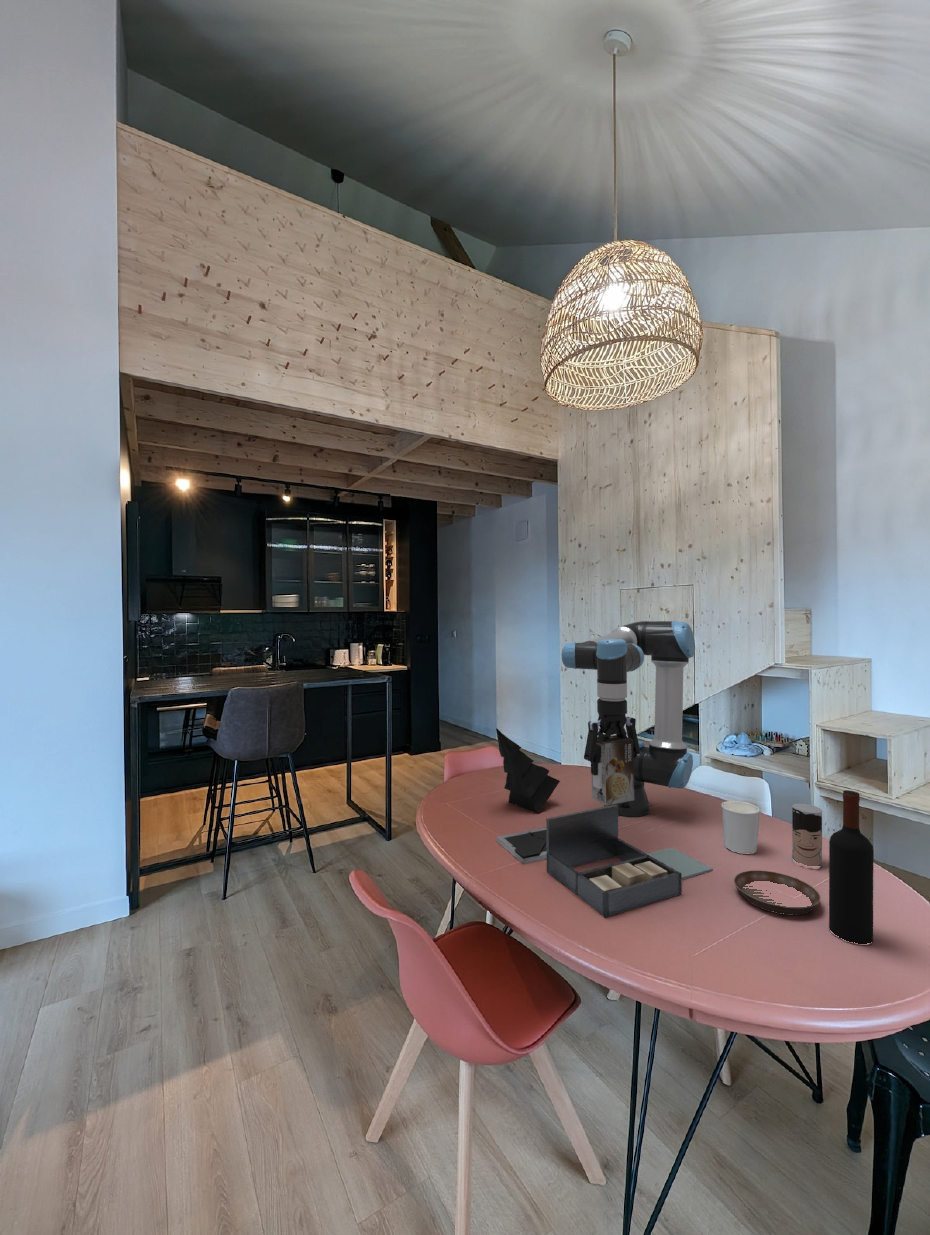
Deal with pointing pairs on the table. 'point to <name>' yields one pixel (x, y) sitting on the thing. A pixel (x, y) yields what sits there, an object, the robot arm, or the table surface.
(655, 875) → the offcut
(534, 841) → the picture frame
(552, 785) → the decorative tree
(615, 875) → the block
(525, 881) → the table surface
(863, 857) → the wine bottle
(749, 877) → the plant saucer
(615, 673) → the robot arm
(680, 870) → the pad
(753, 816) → the candle holder
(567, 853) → the open divided box
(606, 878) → the offcut
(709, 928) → the table surface
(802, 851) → the cup
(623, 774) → the coffee box
